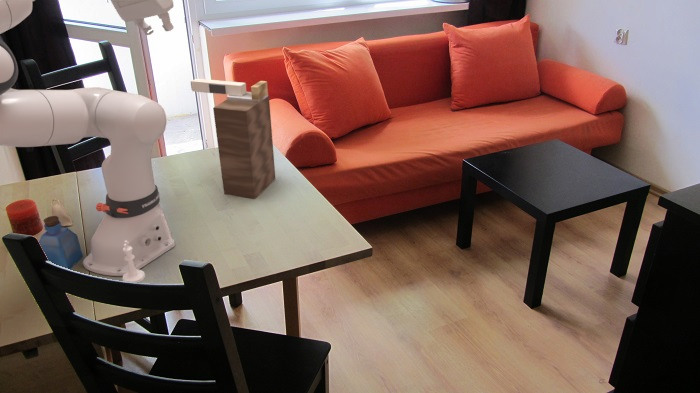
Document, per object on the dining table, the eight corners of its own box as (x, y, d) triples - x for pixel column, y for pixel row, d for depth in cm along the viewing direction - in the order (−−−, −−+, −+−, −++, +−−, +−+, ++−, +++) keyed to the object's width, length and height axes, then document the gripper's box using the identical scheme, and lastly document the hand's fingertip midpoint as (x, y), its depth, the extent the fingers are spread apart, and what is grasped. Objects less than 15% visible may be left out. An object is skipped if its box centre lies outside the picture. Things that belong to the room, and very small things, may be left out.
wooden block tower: (254, 198, 163) (244, 95, 149) (224, 194, 166) (211, 92, 151) (275, 178, 175) (267, 80, 160) (246, 174, 178) (236, 78, 163)
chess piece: (148, 272, 132) (141, 235, 127) (139, 285, 127) (131, 247, 123) (128, 271, 132) (120, 234, 127) (118, 283, 128) (109, 246, 123)
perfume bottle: (59, 254, 138) (46, 211, 133) (83, 256, 138) (71, 213, 132) (44, 269, 133) (30, 225, 127) (68, 271, 132) (55, 227, 127)
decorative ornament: (56, 230, 149) (51, 212, 146) (53, 216, 155) (47, 199, 153) (72, 226, 151) (68, 208, 148) (69, 212, 157) (64, 195, 154)
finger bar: (241, 96, 159) (239, 86, 158) (190, 91, 164) (189, 81, 162) (246, 93, 162) (245, 82, 161) (196, 88, 167) (195, 78, 165)
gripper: (95, -8, 139) (130, 42, 146) (137, -21, 125) (173, 34, 133) (115, -20, 142) (147, 29, 150) (157, -35, 129) (191, 20, 136)
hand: (160, 32), depth 141 cm, fingers open, 8 cm apart
